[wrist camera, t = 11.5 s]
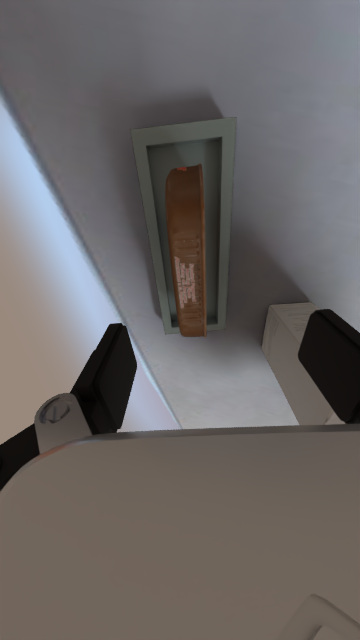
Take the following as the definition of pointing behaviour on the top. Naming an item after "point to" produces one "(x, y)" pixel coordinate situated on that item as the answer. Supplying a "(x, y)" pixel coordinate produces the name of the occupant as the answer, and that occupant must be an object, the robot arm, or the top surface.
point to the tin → (187, 247)
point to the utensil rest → (218, 168)
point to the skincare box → (294, 363)
